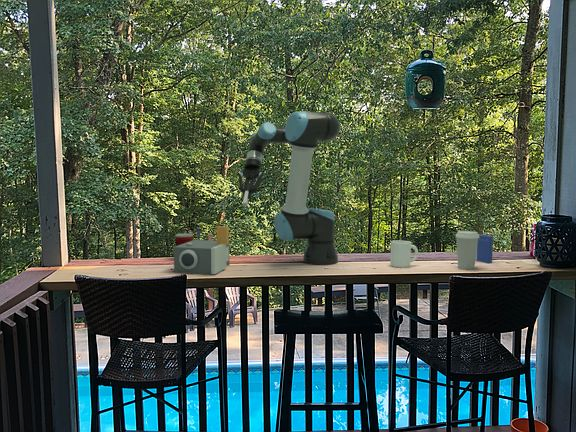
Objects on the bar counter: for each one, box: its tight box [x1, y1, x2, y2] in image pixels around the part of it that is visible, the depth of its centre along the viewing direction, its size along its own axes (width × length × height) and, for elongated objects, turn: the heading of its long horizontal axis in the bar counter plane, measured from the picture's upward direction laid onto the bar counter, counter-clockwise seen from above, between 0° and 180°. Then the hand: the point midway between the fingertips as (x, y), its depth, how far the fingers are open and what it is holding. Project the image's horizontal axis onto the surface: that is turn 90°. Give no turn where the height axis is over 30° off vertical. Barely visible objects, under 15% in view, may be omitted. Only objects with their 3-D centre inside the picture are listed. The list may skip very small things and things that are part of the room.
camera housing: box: [173, 239, 230, 275], centre depth 228 cm, size 16×22×11 cm
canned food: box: [174, 233, 194, 247], centre depth 250 cm, size 8×8×11 cm
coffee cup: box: [455, 230, 480, 270], centre depth 232 cm, size 10×10×15 cm
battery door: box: [210, 225, 230, 275], centre depth 221 cm, size 4×13×17 cm, turn 166°
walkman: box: [475, 233, 494, 264], centre depth 247 cm, size 8×3×12 cm, turn 39°
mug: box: [389, 239, 419, 268], centre depth 236 cm, size 12×8×10 cm
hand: (245, 204), depth 249 cm, fingers closed
